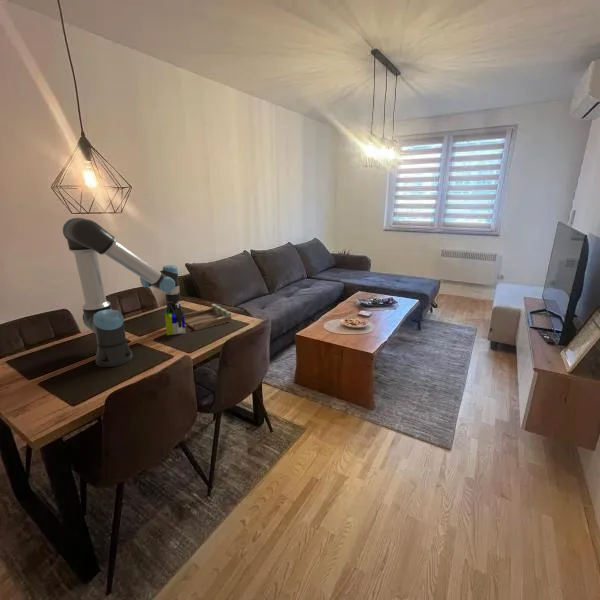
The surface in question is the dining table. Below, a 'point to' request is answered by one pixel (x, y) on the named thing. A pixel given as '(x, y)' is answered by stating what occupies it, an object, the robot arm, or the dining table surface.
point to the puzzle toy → (173, 323)
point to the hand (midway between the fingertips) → (175, 328)
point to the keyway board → (207, 317)
